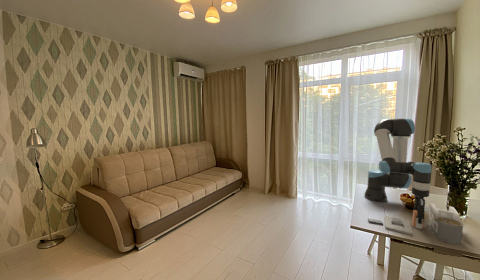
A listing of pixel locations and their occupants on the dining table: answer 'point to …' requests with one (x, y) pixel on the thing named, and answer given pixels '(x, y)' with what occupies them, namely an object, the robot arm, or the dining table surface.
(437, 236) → the coffee mug
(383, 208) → the dining table surface
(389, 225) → the outlet plate
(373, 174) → the robot arm
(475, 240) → the dining table surface
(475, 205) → the dining table surface
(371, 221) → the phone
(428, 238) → the dining table surface
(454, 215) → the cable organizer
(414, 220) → the block
